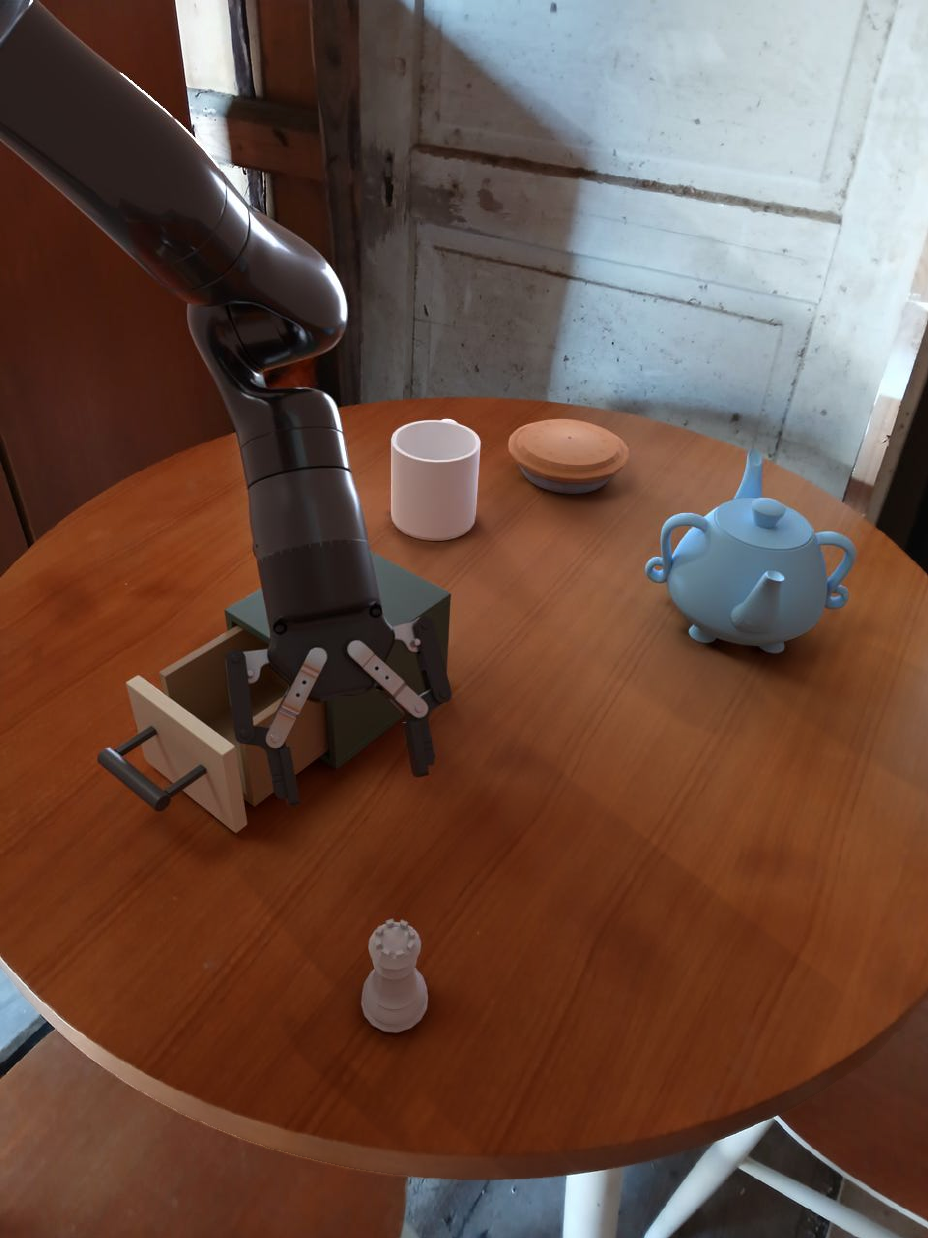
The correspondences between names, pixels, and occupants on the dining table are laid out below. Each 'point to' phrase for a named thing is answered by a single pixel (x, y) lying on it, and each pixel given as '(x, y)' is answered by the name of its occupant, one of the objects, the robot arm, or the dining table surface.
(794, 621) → the teapot
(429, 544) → the dining table surface
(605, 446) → the pie
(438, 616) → the cabinet
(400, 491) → the mug
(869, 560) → the dining table surface
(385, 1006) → the rook chess piece
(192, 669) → the drawer
